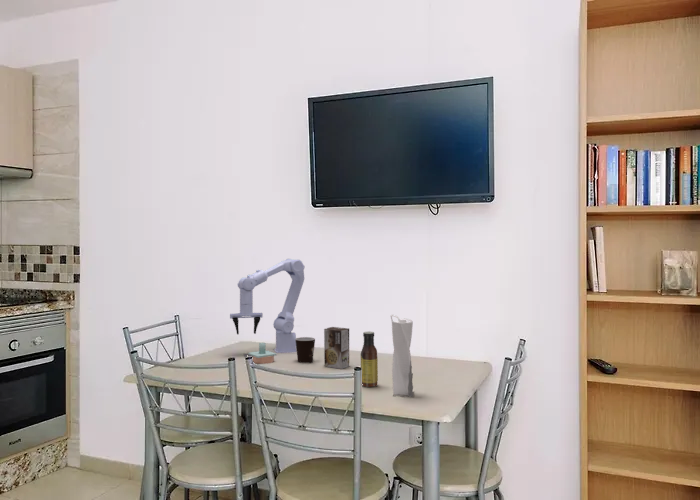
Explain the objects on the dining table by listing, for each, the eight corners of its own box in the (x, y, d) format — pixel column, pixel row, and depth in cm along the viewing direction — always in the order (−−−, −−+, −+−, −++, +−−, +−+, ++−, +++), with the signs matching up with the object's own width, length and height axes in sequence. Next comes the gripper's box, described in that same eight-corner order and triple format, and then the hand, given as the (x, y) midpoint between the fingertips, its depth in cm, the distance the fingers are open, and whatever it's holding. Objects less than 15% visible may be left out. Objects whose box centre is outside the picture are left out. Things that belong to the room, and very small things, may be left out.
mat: (269, 353, 273) (269, 352, 273) (272, 358, 261) (272, 357, 261) (243, 354, 270) (243, 353, 270) (245, 359, 258) (245, 359, 258)
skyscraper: (388, 396, 202) (389, 316, 201) (391, 390, 210) (391, 313, 209) (412, 398, 201) (413, 317, 200) (414, 391, 209) (415, 313, 208)
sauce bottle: (367, 382, 220) (368, 330, 220) (381, 385, 216) (381, 331, 216) (356, 385, 215) (357, 332, 215) (370, 388, 211) (370, 334, 211)
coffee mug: (306, 364, 249) (306, 341, 249) (291, 362, 254) (291, 339, 254) (323, 360, 259) (323, 337, 258) (308, 357, 264) (308, 335, 263)
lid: (266, 351, 261) (266, 340, 261) (276, 355, 254) (276, 343, 254) (248, 354, 256) (248, 342, 256) (257, 357, 248) (257, 346, 248)
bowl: (272, 359, 260) (272, 352, 260) (275, 363, 251) (275, 356, 251) (251, 360, 257) (251, 353, 257) (253, 364, 249) (253, 357, 249)
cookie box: (350, 366, 247) (350, 328, 246) (341, 369, 241) (341, 330, 241) (332, 363, 252) (332, 326, 251) (323, 366, 246) (323, 328, 246)
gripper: (261, 302, 271) (261, 331, 272) (229, 303, 267) (229, 332, 268) (263, 304, 264) (263, 334, 265) (230, 305, 261) (230, 335, 261)
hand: (246, 333), depth 266 cm, fingers open, 7 cm apart
